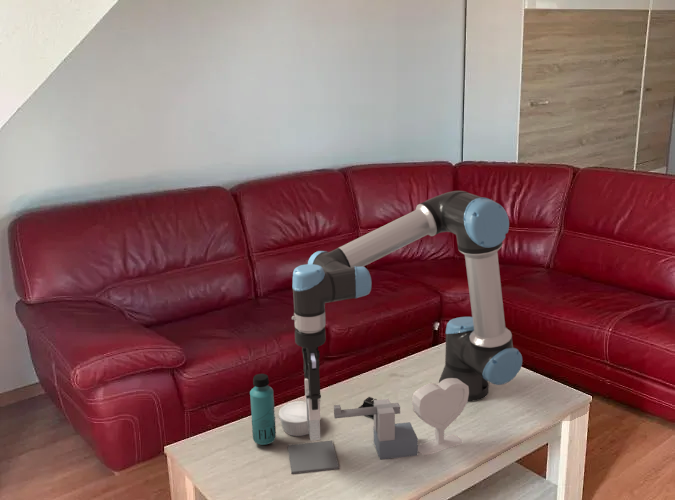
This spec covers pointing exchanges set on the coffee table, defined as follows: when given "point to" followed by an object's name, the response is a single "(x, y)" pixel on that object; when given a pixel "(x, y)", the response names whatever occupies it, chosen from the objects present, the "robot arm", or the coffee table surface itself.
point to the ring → (312, 423)
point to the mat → (312, 457)
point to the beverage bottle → (262, 410)
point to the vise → (386, 429)
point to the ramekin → (294, 418)
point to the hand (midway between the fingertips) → (312, 410)
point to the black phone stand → (368, 405)
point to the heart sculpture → (440, 411)
